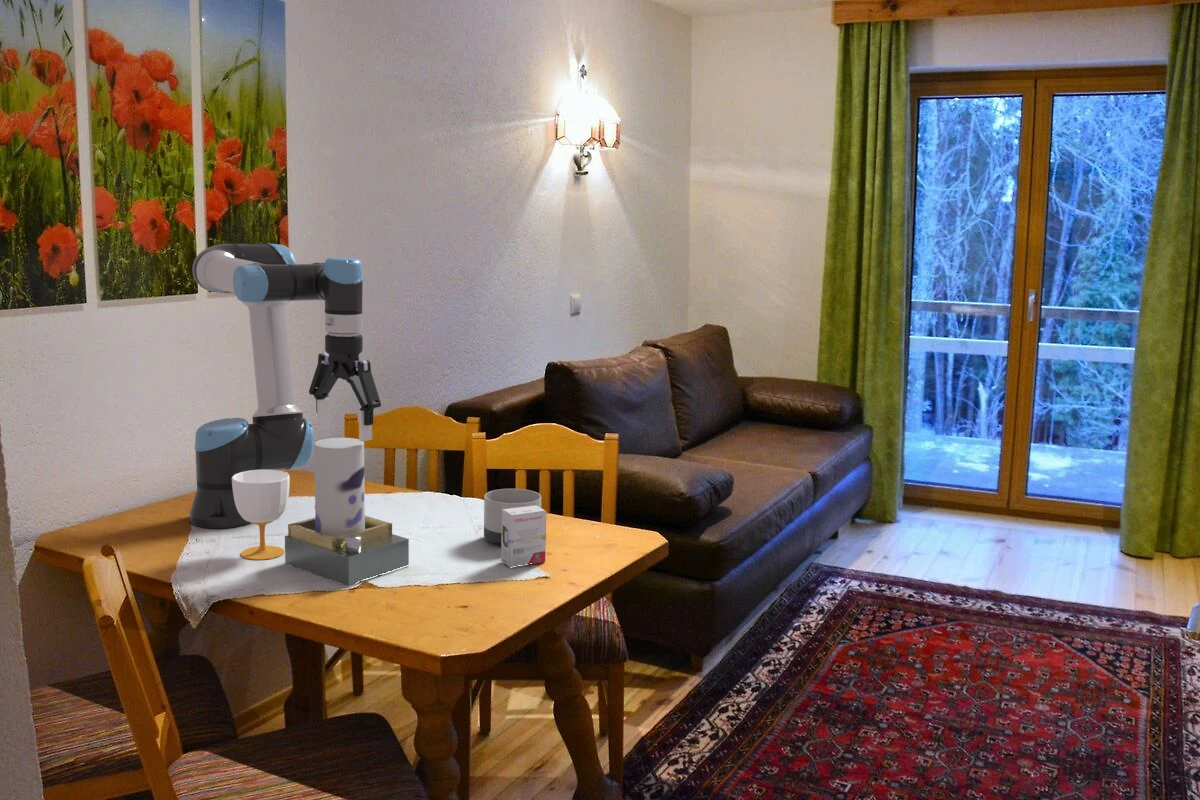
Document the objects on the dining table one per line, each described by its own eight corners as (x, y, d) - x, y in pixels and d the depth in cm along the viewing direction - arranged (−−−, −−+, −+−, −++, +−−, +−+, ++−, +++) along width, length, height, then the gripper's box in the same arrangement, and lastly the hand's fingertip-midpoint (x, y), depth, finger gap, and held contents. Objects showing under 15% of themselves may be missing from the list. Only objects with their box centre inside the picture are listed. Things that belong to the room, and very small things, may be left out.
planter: (551, 538, 252) (552, 494, 250) (519, 553, 241) (519, 507, 239) (505, 528, 258) (506, 485, 256) (472, 542, 247) (472, 497, 245)
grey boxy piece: (285, 563, 229) (284, 522, 227) (345, 546, 241) (345, 506, 240) (348, 586, 217) (348, 542, 215) (408, 566, 230) (408, 525, 228)
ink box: (536, 556, 239) (537, 504, 237) (546, 563, 234) (547, 510, 232) (499, 561, 234) (500, 508, 232) (509, 569, 230) (510, 514, 228)
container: (352, 544, 224) (351, 449, 220) (307, 540, 225) (305, 445, 222) (372, 530, 233) (371, 438, 230) (328, 526, 235) (327, 435, 231)
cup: (264, 541, 243) (262, 466, 240) (302, 551, 237) (301, 474, 234) (221, 555, 233) (219, 477, 230) (260, 566, 227) (258, 486, 224)
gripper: (291, 328, 230) (292, 427, 234) (369, 342, 214) (369, 447, 218) (320, 325, 235) (321, 422, 239) (398, 339, 220) (398, 442, 224)
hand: (344, 434), depth 229 cm, fingers open, 13 cm apart
